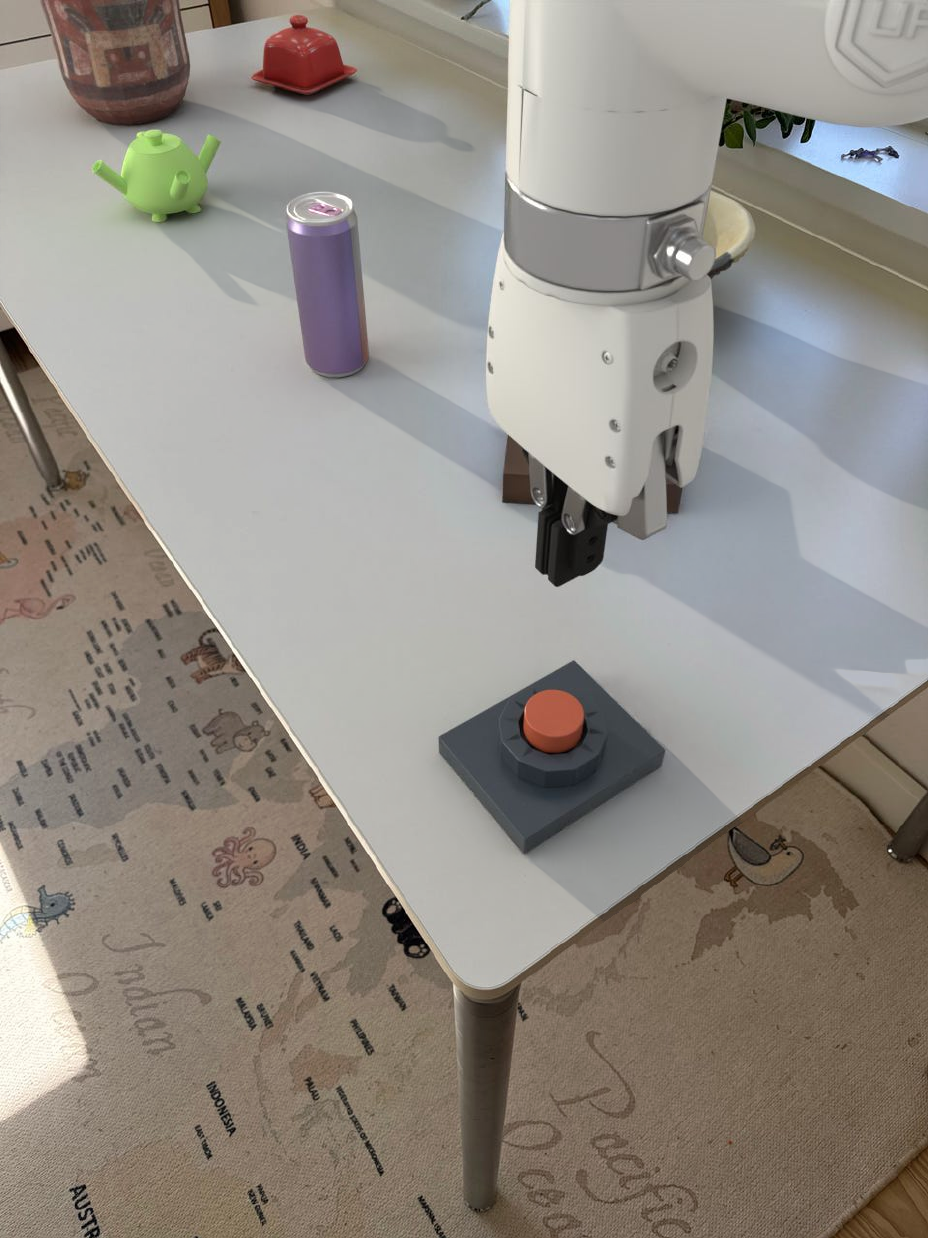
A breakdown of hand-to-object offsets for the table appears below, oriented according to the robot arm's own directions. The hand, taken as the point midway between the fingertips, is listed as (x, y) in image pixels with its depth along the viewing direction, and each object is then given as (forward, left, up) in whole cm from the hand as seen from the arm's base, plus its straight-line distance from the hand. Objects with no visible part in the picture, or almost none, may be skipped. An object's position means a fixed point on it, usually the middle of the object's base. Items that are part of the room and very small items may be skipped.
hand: (568, 566), depth 51 cm
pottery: (+61, -101, -17) cm, 119 cm away
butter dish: (+40, -112, -17) cm, 120 cm away
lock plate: (-2, -30, -17) cm, 35 cm away
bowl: (-7, -55, -17) cm, 58 cm away
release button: (0, 0, -14) cm, 14 cm away
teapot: (+47, -72, -17) cm, 88 cm away
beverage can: (+22, -43, -17) cm, 51 cm away
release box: (0, 0, -17) cm, 17 cm away
